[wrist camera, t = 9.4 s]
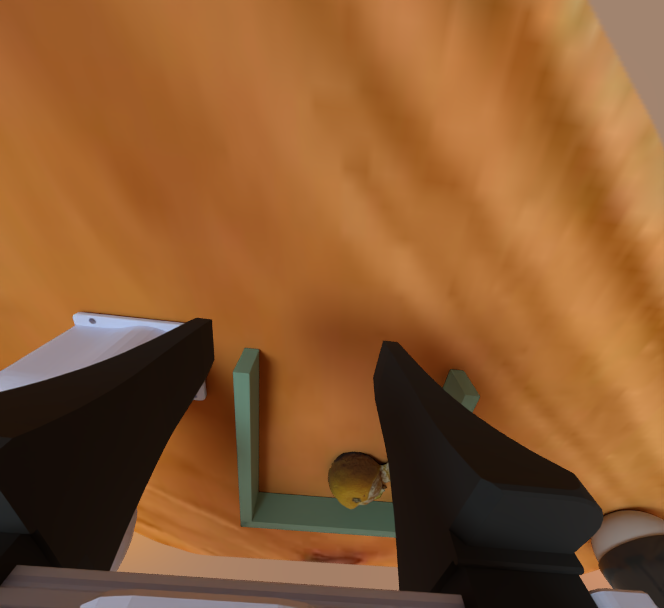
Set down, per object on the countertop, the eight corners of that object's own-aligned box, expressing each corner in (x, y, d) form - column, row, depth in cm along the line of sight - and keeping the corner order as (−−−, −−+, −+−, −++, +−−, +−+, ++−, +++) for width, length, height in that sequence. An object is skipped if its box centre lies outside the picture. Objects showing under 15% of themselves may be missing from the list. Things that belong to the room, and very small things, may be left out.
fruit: (376, 497, 33) (380, 533, 30) (314, 478, 31) (312, 514, 28) (415, 458, 30) (426, 494, 26) (349, 434, 28) (351, 470, 25)
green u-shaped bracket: (248, 497, 33) (240, 526, 30) (244, 348, 23) (233, 371, 20) (403, 509, 34) (409, 538, 31) (463, 370, 24) (480, 396, 21)
